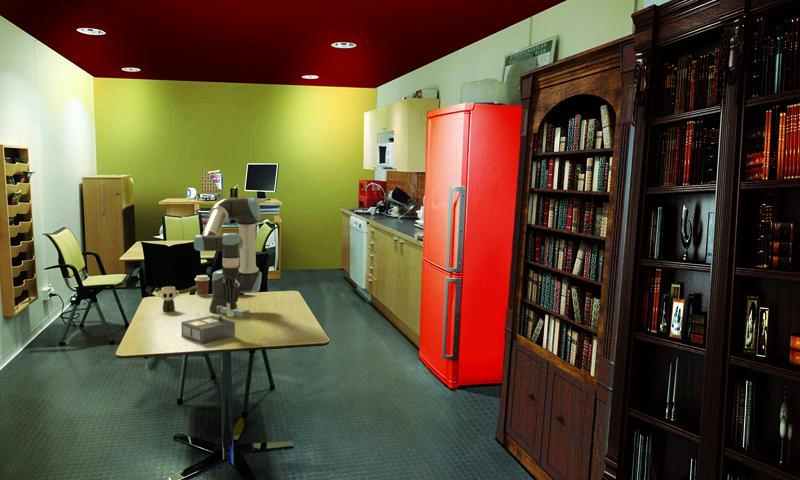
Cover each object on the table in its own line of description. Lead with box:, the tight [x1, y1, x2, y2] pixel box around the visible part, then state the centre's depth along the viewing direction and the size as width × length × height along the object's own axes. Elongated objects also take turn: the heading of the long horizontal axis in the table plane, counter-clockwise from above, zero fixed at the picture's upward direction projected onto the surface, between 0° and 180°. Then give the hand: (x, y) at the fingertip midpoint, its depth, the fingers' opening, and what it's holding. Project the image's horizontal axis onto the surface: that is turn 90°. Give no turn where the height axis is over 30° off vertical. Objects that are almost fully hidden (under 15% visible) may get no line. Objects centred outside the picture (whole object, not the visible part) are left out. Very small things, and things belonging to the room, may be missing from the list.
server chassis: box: [181, 313, 236, 345], centre depth 266 cm, size 18×17×10 cm
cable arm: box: [216, 306, 250, 320], centre depth 267 cm, size 19×3×3 cm, turn 61°
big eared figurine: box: [157, 286, 180, 312], centre depth 313 cm, size 11×7×13 cm, turn 107°
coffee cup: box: [194, 274, 211, 297], centre depth 356 cm, size 9×9×12 cm
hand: (230, 316), depth 264 cm, fingers closed
